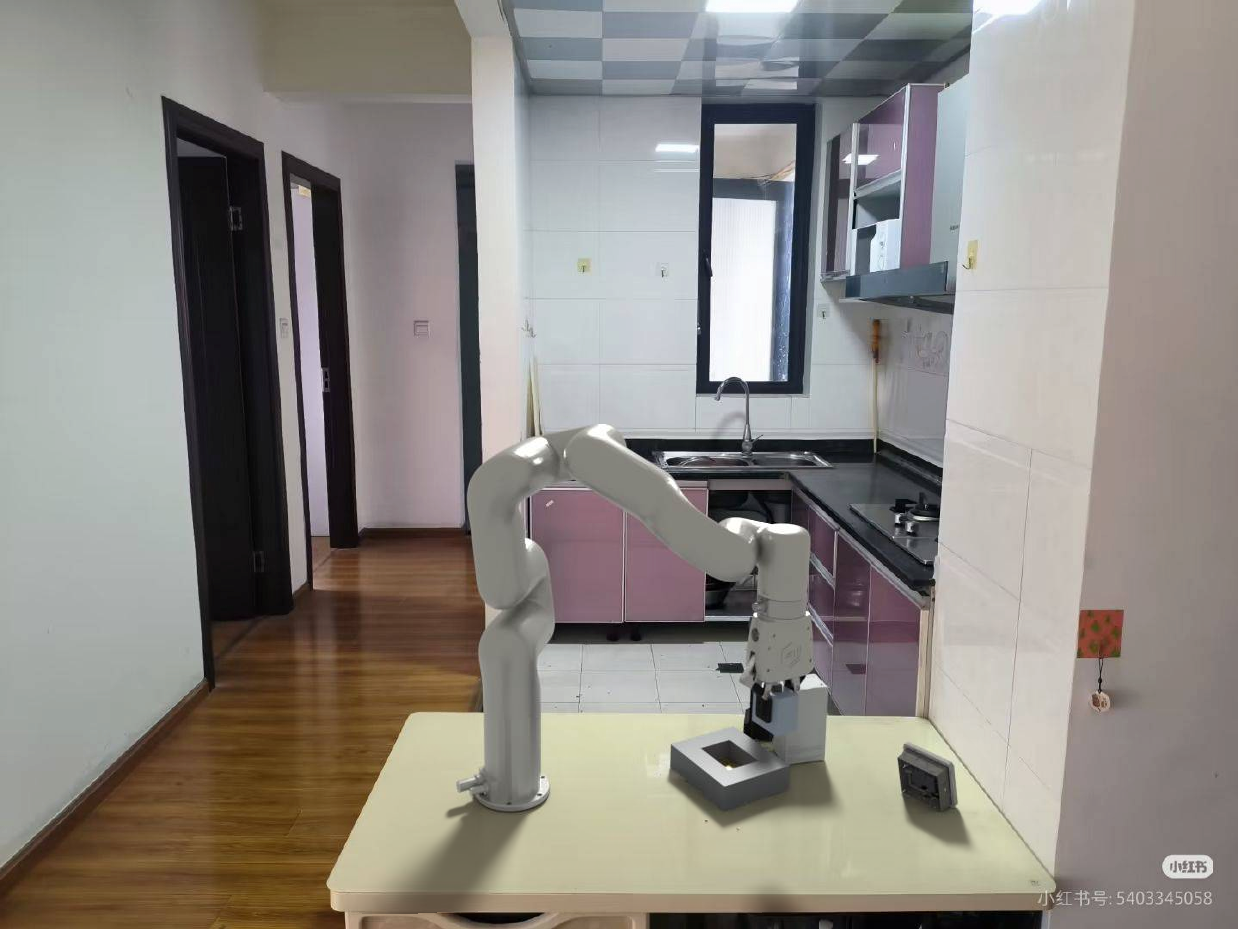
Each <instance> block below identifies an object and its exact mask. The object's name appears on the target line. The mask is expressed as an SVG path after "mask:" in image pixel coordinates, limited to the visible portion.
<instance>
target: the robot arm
mask: <svg viewBox="0 0 1238 929" xmlns="http://www.w3.org/2000/svg"><path fill="white" fill-rule="evenodd" d="M572 480H573V481H576V482H577V483H579V484H580V485H582V486H584V487H585V488H587V489H588V490H590V491H592V492H594V493H595V494H596V495H598V496H600V497H602V498H603V499H605V500H607V501H609V502H610V503H611V504H613V505H615V506H616V507H618V508H620V509H621V510H623V511H624V512H626V513H627V514H629V515H631V517H632V516H633V517H634V518H635V519H637V520H638V521H640V522H641V523H642V524H643V525H644V526H645V528H647V530H648V531H650V532H651V534H653V535H654V536H655V537H656V538H658V540H659V541H660V542H661V543H662V544H664V546H666V547H667V549H669V550H670V551H671V552H673V553H674V554H675V555H677V556H678V557H679V558H681V559H682V560H684V561H685V562H687V563H688V564H690V565H691V566H694V567H696V568H697V569H699V570H700V571H702V572H703V573H705V574H707V575H709V576H710V577H712V578H714V579H717V580H719V581H723V582H729V583H733V582H734V583H735V582H739V581H742V580H744V579H745V578H747V577H748V576H749V575H750V574H751V573H752V572H753V570H754V568H755V566H756V567H757V569H758V570H757V585H756V586H757V590H756V592H757V593H756V602H753V603H752V604H751V608H752V611H753V612H754V613H753V614H752V615H753V616H752V617H753V618H752V622H751V626H750V631H749V637H748V636H747V637H748V641H747V645H746V657H745V668H744V669H743V672H742V674H741V676H740V678H739V683H740V684H742V685H743V686H745V687H747V688H749V689H751V690H752V691H753V693H755V694H756V707H755V715H756V716H757V717H758V718H759V719H761V720H762V721H764V722H765V723H770V722H771V715H772V699H771V698H769V697H770V692H771V688H772V683H777V682H781V681H783V684H784V686H785V687H787V688H789V689H790V690H792V691H794V692H795V693H796V692H798V691H799V690H800V684H801V683H802V682H803V680H804V679H805V677H806V675H809V674H810V673H811V672H812V671H813V670H814V669H815V664H814V634H813V633H814V632H813V625H812V619H811V618H812V617H811V614H810V612H809V611H807V607H808V606H807V605H808V604H807V603H808V588H809V572H810V570H809V569H810V555H811V535H810V533H809V531H808V529H806V528H804V527H802V526H800V525H797V524H791V523H773V524H771V523H766V522H761V521H756V520H752V519H748V518H743V517H728V518H725V519H723V520H721V521H720V522H717V521H715V520H713V519H712V518H710V517H709V516H708V515H706V514H705V513H703V512H702V511H700V509H698V508H697V507H695V505H694V504H693V503H692V502H691V501H689V500H688V498H687V497H686V496H685V495H684V493H683V492H682V489H681V488H680V486H679V484H678V483H677V481H676V479H674V478H673V476H672V475H671V474H670V473H669V472H667V471H666V470H664V469H662V468H661V467H659V466H657V465H656V464H654V463H653V462H651V461H649V460H648V459H646V458H644V457H642V456H641V455H639V454H637V453H636V452H634V451H633V450H632V449H629V448H628V447H627V443H626V440H625V438H624V436H623V435H622V433H621V432H620V431H619V430H618V429H616V428H615V427H613V426H611V425H608V424H605V423H595V424H594V423H593V424H590V425H586V426H585V425H584V426H581V427H575V428H571V429H566V430H561V431H555V432H551V433H545V434H540V435H539V434H538V435H535V436H531V437H528V438H526V439H523V440H521V441H519V442H517V443H515V444H512V445H511V446H509V447H506V448H504V449H503V450H501V451H499V452H498V453H496V454H494V455H493V456H492V457H489V458H488V459H487V460H485V461H484V462H483V463H482V464H481V465H480V466H478V467H477V469H476V470H475V471H474V473H473V475H472V477H471V478H470V480H469V483H468V487H467V492H466V504H467V505H466V506H467V512H468V513H467V514H468V519H469V523H470V524H469V526H470V531H471V532H470V533H471V543H472V552H473V553H472V554H473V561H474V569H475V576H476V579H475V580H476V584H477V585H476V586H477V589H478V593H479V596H480V598H481V600H482V601H483V602H484V603H485V604H486V605H487V606H488V607H490V608H492V609H493V610H498V611H501V612H500V613H498V614H497V615H496V616H495V617H494V618H493V620H491V622H490V623H488V625H487V626H486V628H485V629H484V631H483V633H482V635H481V637H480V640H479V644H478V650H477V652H478V653H477V654H478V662H479V668H480V673H481V674H480V675H481V679H482V680H481V681H482V703H483V704H482V705H483V706H482V707H483V747H484V748H483V752H484V754H483V755H484V756H483V757H484V758H483V762H484V765H481V766H479V767H478V773H476V774H474V775H473V776H472V777H467V778H464V779H460V780H457V781H456V784H455V785H456V789H457V792H458V793H459V794H460V793H464V792H467V791H468V792H469V795H470V797H476V799H477V800H478V802H479V803H480V804H482V805H483V806H484V807H487V808H489V809H490V810H495V811H500V812H508V813H509V812H521V811H525V810H528V809H532V808H534V807H536V806H538V805H541V804H542V803H543V802H544V801H545V800H546V799H547V798H548V796H549V795H550V792H551V782H550V780H549V778H548V776H547V775H545V773H543V772H542V704H541V702H542V698H541V682H540V676H539V671H538V660H539V656H540V654H541V653H542V652H543V650H544V649H545V647H546V646H547V644H548V643H549V642H550V640H551V638H552V636H553V634H554V631H555V626H556V625H555V624H556V621H555V620H556V618H555V617H556V616H555V607H554V599H553V588H552V583H551V582H552V580H551V573H550V566H549V561H548V558H547V556H546V554H545V552H544V549H542V547H541V546H540V545H539V544H538V543H537V542H535V541H534V540H532V539H530V538H527V537H526V536H525V535H526V534H525V525H524V524H525V523H524V520H523V516H522V513H521V510H520V504H521V502H522V501H524V500H526V499H528V498H531V497H532V496H534V495H536V494H537V493H538V492H541V491H542V490H543V489H545V488H546V487H547V486H550V485H552V484H558V483H563V482H569V481H572ZM755 674H756V676H755V681H753V677H754V675H755ZM762 682H763V683H764V686H763V688H762Z"/></svg>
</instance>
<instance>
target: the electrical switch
mask: <svg viewBox="0 0 1238 929" xmlns="http://www.w3.org/2000/svg"><path fill="white" fill-rule="evenodd" d="M902 750H903V751H902V752H901V753H900V755H899V756H897V758H896V759H897V766H898V775H899V782H900V789H901V794H903V795H904V796H905V795H906V796H907V797H908V798H911V799H913V800H915V801H917V802H919V803H921V804H923V805H925V806H926V807H929V808H931V809H933V810H934V811H937V812H938V813H940V814H941V813H943V812H944V811H945V810H946V809H948V808H949V807H950V808H952V809H954V808H956V807H957V806H958V804H959V803H958V802H959V800H958V793H957V792H958V791H957V781H956V771H955V764H954V763H953V761H951V760H949V759H946V758H945V757H942V756H940V755H937V754H935V753H933V752H932V751H929V750H927V749H925V748H923V747H921V746H918V745H916V744H914V743H912V742H910V741H906V742H905V743H903V746H902ZM925 796H928V797H926V798H925Z"/></svg>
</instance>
